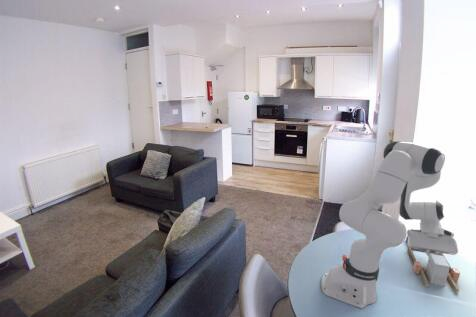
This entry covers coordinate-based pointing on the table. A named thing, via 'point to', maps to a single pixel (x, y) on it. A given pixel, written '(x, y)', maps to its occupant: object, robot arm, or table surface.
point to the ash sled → (449, 277)
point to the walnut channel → (415, 258)
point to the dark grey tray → (417, 249)
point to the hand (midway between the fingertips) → (432, 260)
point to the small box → (437, 269)
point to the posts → (454, 272)
